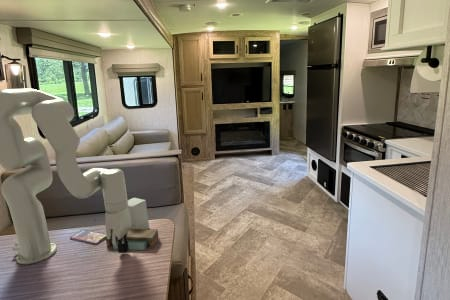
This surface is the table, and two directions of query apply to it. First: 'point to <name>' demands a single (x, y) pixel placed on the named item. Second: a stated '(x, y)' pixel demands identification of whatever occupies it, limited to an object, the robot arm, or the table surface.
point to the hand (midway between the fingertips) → (123, 251)
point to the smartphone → (89, 237)
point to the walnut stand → (140, 236)
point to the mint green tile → (135, 244)
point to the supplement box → (138, 213)
